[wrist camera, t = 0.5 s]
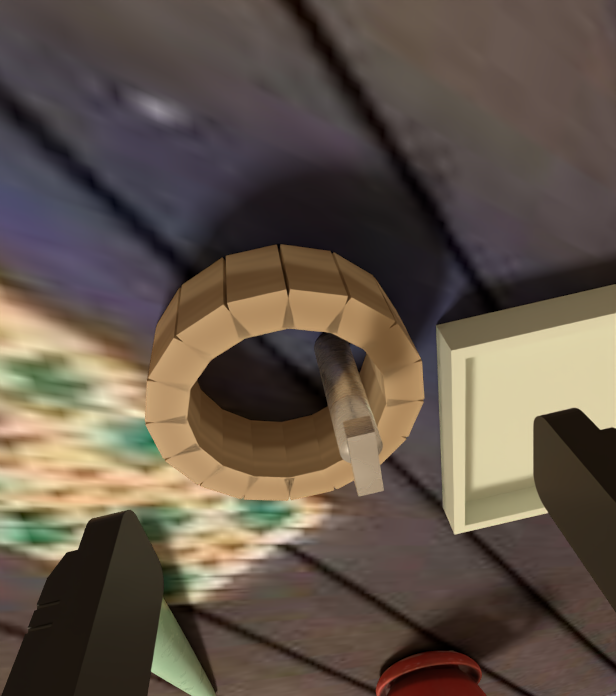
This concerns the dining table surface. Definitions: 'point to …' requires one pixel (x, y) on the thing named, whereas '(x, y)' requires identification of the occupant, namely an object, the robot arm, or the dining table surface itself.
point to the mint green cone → (178, 657)
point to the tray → (517, 397)
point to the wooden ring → (260, 318)
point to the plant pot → (432, 676)
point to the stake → (350, 412)
